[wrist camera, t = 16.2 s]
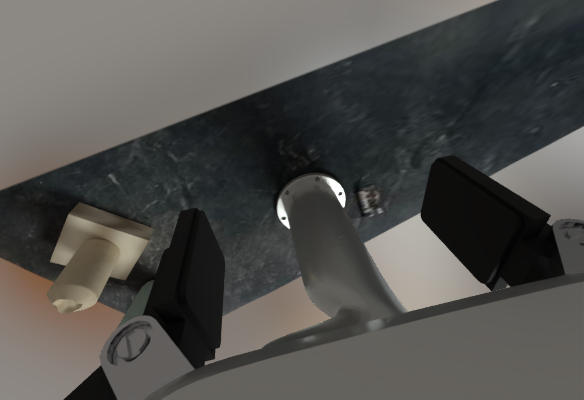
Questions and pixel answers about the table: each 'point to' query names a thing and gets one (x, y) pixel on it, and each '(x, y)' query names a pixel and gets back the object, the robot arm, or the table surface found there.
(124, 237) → the plinth
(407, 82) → the table surface
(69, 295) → the candle
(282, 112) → the table surface
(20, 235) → the table surface
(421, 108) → the table surface
